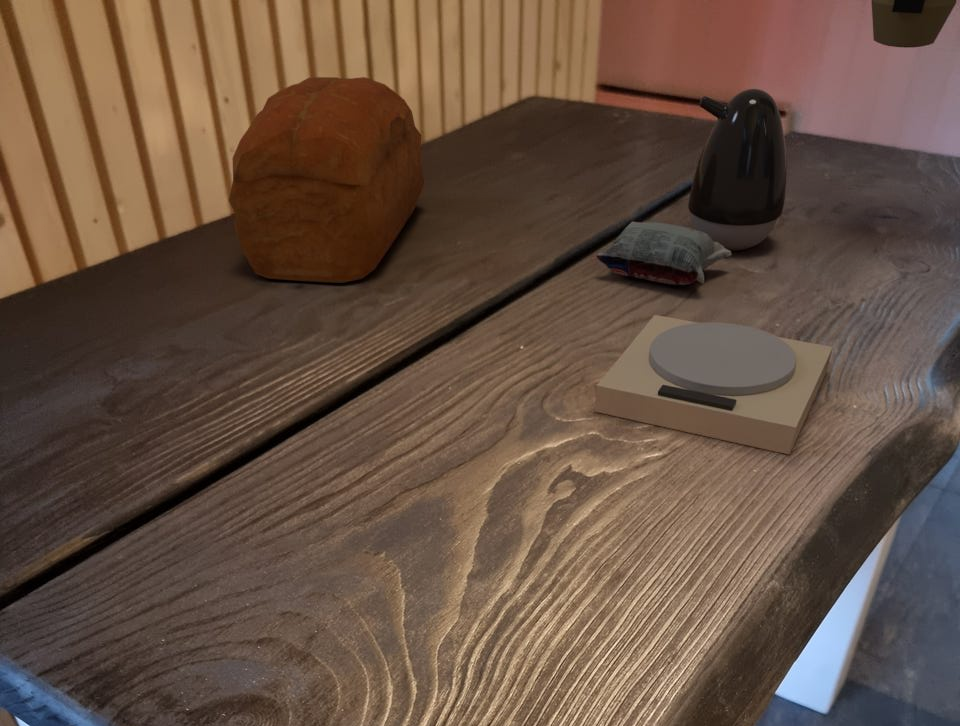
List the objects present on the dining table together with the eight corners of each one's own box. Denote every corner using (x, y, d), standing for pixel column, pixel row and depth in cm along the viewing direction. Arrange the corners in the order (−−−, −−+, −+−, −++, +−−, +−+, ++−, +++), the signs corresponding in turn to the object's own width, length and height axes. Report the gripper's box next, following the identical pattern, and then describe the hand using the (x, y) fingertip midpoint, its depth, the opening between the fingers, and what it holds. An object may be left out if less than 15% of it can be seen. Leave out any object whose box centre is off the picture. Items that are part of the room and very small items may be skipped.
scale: (826, 372, 81) (835, 337, 79) (789, 454, 71) (798, 417, 69) (651, 339, 86) (655, 306, 84) (594, 411, 76) (597, 376, 74)
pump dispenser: (683, 224, 109) (703, 76, 98) (774, 229, 107) (804, 79, 97) (679, 256, 101) (700, 99, 91) (776, 262, 100) (809, 103, 89)
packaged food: (626, 251, 102) (631, 204, 99) (729, 271, 98) (737, 223, 94) (592, 279, 97) (595, 231, 94) (699, 302, 92) (706, 251, 89)
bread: (231, 279, 98) (198, 112, 87) (307, 198, 117) (288, 53, 107) (378, 288, 96) (363, 117, 85) (431, 203, 115) (425, 56, 104)
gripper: (957, -310, 86) (888, -12, 101) (931, -329, 72) (856, 20, 87) (1047, -315, 83) (962, -8, 98) (1037, -336, 69) (941, 24, 84)
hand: (912, 5), depth 93 cm, fingers closed on squeeze bottle, 8 cm apart
